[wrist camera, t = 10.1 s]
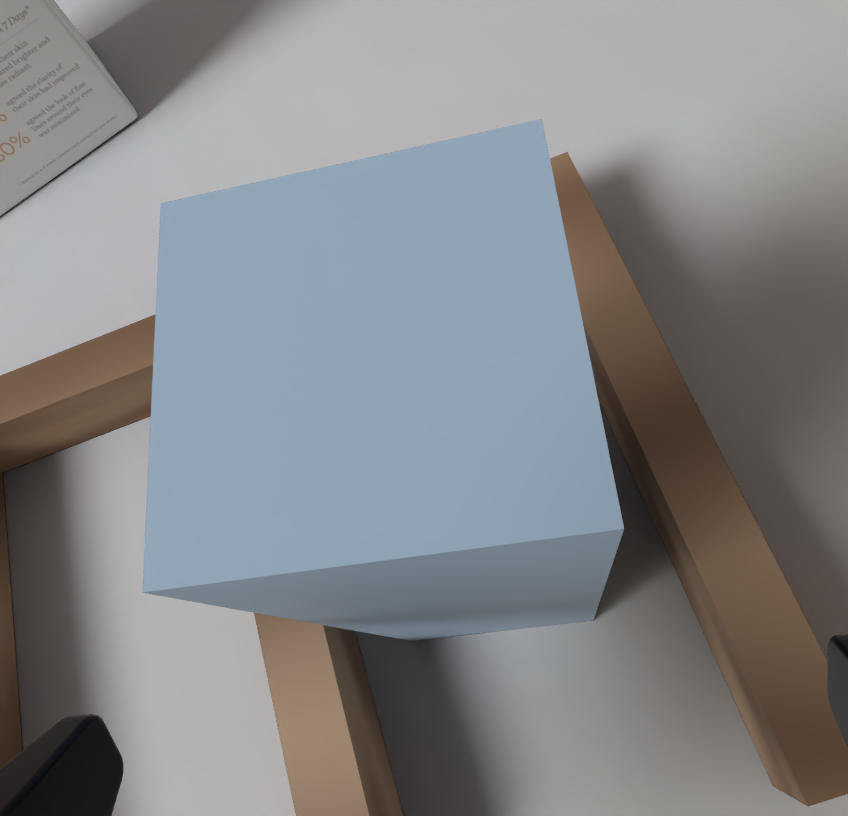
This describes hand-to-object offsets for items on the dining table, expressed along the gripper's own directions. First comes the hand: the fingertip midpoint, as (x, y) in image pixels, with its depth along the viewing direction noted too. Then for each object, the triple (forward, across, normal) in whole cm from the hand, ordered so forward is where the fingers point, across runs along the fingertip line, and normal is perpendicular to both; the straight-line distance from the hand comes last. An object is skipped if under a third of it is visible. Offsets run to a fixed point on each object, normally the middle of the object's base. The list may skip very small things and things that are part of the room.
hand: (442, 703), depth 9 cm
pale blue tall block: (+9, 0, +4) cm, 10 cm away
